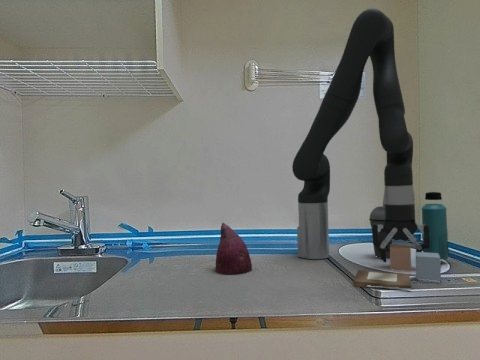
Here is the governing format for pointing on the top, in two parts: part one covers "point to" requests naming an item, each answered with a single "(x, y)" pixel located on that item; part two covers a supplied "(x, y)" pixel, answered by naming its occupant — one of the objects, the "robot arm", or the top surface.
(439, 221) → the beverage bottle
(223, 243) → the vegetable
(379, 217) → the beverage cup
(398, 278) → the board
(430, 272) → the slate block
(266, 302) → the top surface
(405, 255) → the terracotta block
